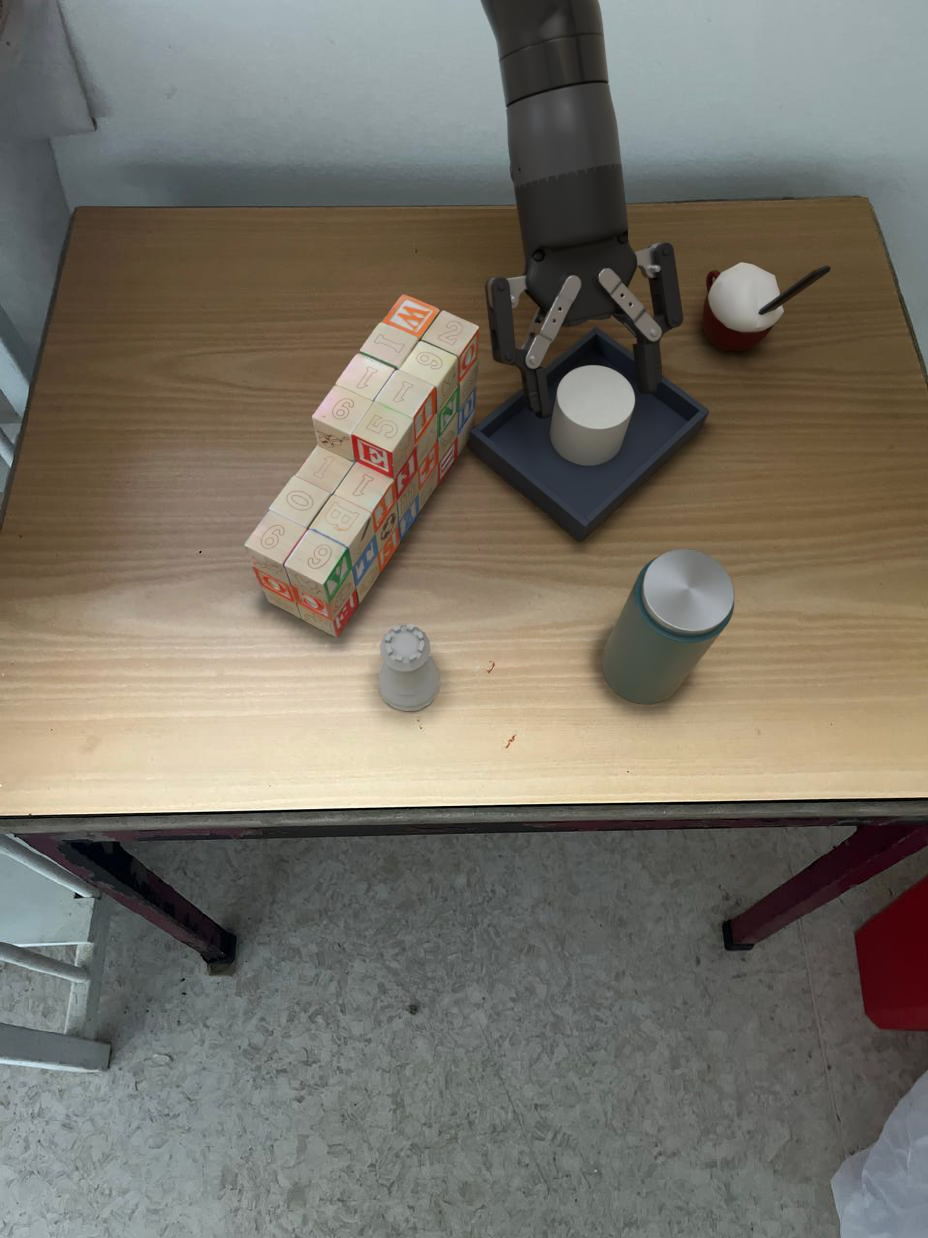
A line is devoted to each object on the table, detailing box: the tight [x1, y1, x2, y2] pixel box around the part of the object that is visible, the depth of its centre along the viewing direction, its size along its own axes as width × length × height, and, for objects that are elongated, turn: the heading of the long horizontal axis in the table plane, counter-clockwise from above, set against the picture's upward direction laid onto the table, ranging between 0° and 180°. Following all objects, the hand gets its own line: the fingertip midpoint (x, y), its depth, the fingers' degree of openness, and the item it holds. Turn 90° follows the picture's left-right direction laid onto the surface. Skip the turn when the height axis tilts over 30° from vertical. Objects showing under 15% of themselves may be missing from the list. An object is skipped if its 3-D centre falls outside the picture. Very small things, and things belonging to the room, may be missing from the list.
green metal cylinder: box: [600, 548, 735, 705], centre depth 56 cm, size 6×6×13 cm
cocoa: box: [701, 261, 832, 352], centre depth 69 cm, size 10×6×12 cm, turn 5°
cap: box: [550, 365, 635, 466], centre depth 67 cm, size 6×6×5 cm
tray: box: [468, 325, 711, 543], centre depth 69 cm, size 15×12×2 cm
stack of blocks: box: [243, 294, 480, 638], centre depth 61 cm, size 21×6×12 cm, turn 152°
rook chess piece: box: [377, 623, 441, 712], centre depth 57 cm, size 4×4×8 cm
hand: (596, 404), depth 65 cm, fingers open, 8 cm apart
